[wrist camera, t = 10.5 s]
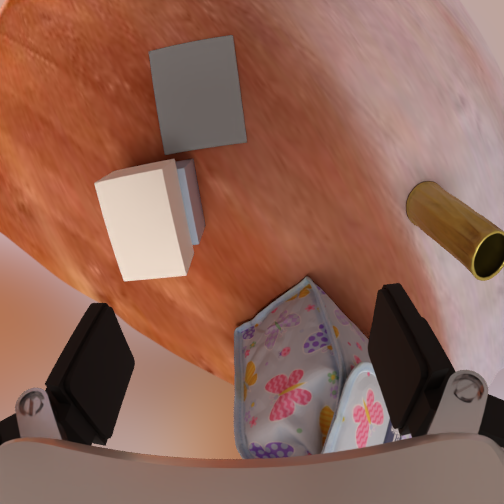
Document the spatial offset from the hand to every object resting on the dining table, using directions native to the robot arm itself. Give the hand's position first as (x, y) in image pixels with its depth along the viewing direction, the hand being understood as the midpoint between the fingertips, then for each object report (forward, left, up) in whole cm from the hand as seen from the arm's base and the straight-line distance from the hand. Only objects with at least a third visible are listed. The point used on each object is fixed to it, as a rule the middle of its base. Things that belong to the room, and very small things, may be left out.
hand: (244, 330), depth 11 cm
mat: (-9, -4, -26) cm, 28 cm away
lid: (+2, -10, -21) cm, 23 cm away
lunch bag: (+26, +8, -26) cm, 38 cm away
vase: (+6, +22, -26) cm, 35 cm away
